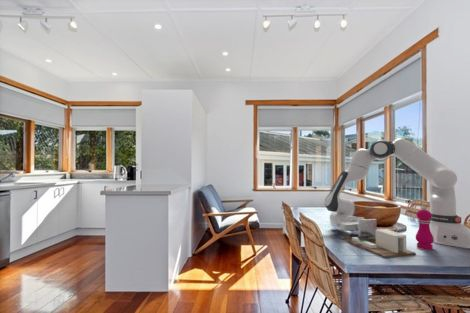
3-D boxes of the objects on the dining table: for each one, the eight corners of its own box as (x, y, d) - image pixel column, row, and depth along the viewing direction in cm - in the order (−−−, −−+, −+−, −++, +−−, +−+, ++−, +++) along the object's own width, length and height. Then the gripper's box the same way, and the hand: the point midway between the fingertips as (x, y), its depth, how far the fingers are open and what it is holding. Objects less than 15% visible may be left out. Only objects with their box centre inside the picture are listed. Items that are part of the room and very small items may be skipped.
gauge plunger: (351, 239, 140) (351, 220, 140) (374, 237, 143) (374, 218, 144) (380, 251, 121) (380, 228, 121) (406, 249, 124) (405, 227, 124)
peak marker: (358, 239, 135) (358, 235, 135) (363, 238, 136) (363, 235, 136) (359, 239, 134) (359, 236, 134) (365, 239, 135) (365, 235, 135)
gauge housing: (375, 245, 132) (375, 229, 132) (386, 244, 133) (385, 229, 133) (395, 252, 120) (395, 236, 120) (406, 251, 121) (406, 235, 122)
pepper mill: (412, 245, 134) (411, 205, 134) (425, 245, 134) (424, 205, 135) (423, 250, 127) (422, 208, 127) (437, 250, 127) (436, 207, 128)
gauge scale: (351, 240, 140) (351, 237, 140) (356, 239, 141) (356, 236, 141) (371, 248, 126) (371, 245, 127) (376, 247, 127) (376, 244, 127)
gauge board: (341, 239, 145) (341, 237, 146) (368, 237, 149) (368, 235, 149) (383, 258, 116) (383, 255, 116) (415, 255, 120) (415, 252, 120)
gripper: (334, 218, 154) (349, 223, 140) (364, 217, 158) (382, 222, 145) (334, 229, 153) (349, 236, 140) (365, 227, 158) (382, 233, 144)
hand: (366, 228), depth 142 cm, fingers closed, pressing on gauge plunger
